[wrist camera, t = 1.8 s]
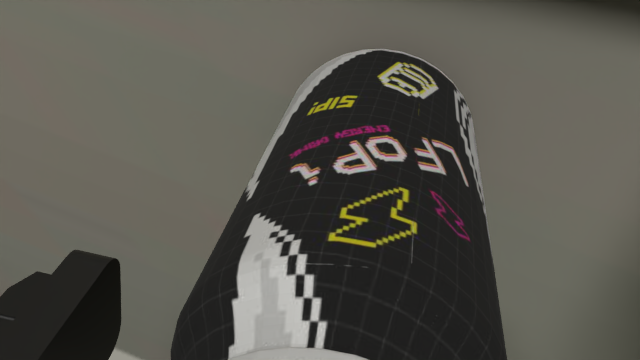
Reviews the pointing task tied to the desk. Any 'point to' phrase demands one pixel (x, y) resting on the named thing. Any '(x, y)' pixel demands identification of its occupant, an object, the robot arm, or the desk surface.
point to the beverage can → (356, 229)
